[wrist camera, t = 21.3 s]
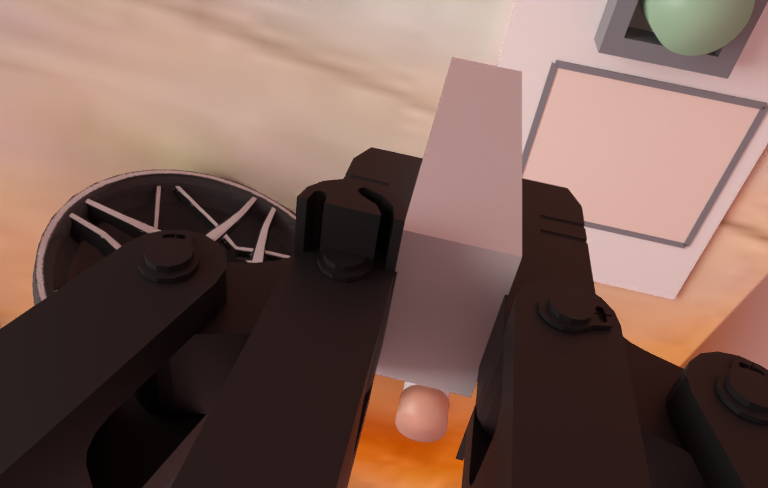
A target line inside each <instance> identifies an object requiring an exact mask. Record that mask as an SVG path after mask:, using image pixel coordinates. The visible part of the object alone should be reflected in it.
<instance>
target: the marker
mask: <svg viewBox="0 0 768 488" xmlns="http://www.w3.org/2000/svg"><path fill="white" fill-rule="evenodd" d="M449 393H450V392H447V391H443V390H439V389H434V388H430V387H426V386H422V385H418V384H414V383H410V382H406V381H405V384H404V389H403V392H402V393H401V396H400V401H399V405H398V410H397V415H396V420H395V423H396V427H397V429H398V430H399V431H400V432H401V433H402V434H403V435H404V436H406V437H407V438H409V439H412V440H415V441H419V442H433V441H436V440H439V439H440V438H442V437H443V436H444V435H445V433H446V430H447V422H448V414H449V405H450V404H449Z"/></svg>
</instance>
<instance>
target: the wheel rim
mask: <svg viewBox="0 0 768 488" xmlns="http://www.w3.org/2000/svg"><path fill="white" fill-rule="evenodd" d="M295 223H296V215H294V214H293V213H292V212H290V211H289V210H287V209H286V208H284V207H283V206H282V205H280V204H279V203H277V202H275V201H273V200H272V199H270V198H268V197H267V196H265V195H263V194H261V193H259V192H257V191H255V190H253V189H251V188H248V187H245V186H243V185H240V184H237V183H235V182H232V181H230V180H227V179H223V178H219V177H216V176H212V175H207V174H202V173H197V172H191V171H181V170H146V171H137V172H131V173H126V174H121V175H117V176H114V177H111V178H108V179H106V180H103V181H100V182H97V183H95V184H93V185H91V186H90V187H88V188H86V189H84V190H83V191H81V192H79V193H78V194H76V195H74V196H73V197H72V198H71V199H70V200H69V201H68V202H67V203H66V204H65V205H64V206H63V207H62V208H61V209H60V210H59V211H58V212H57V213H56V214H55V215H54V216H53V217H52V218H51V220H50V222H49V224H48V226H47V227H46V229H45V231H44V233H43V234H42V237H41V240H40V243H39V246H38V250H37V255H36V260H35V266H34V272H33V296H34V304H35V305H36V304H38V303H39V302H41V301H42V300H44V299H45V298H47V297H48V296H50V295H51V294H53V293H54V292H55V291H57V290H58V289H60V288H61V287H63V286H64V285H66V284H67V283H69V282H70V281H71V280H73V279H74V278H76V277H77V276H79V275H80V274H82V273H83V272H85V271H86V270H88V269H89V268H90V267H92V266H93V265H95V264H96V263H98V262H99V261H101V260H102V259H104V258H105V257H107V256H108V255H109V254H111V253H112V252H114V251H115V250H117V249H118V248H120V247H121V246H123V245H124V244H126V243H127V242H129V241H131V240H133V239H135V238H138V237H140V236H142V235H144V234H147V233H152V232H157V231H162V230H188V231H192V232H196V233H200V234H204V235H206V236H208V237H209V238H211V239H212V240H214V241H216V242H217V243H219V244H220V246H221V248H222V249H223V251H224V253H225V254H226V256H227V262H243V263H258V262H272V261H277V260H281V259H285V258H288V257H291V255H292V253H293V251H294V240H295ZM179 471H180V470H179ZM179 471H178V472H177V473H176V475H175V476H174V477H173V478H172V479H171V481H170V482H169V483H168V484H167V485H166V486H165V488H171V486H172V484H173V482H174V480H175V478H176V476H177V474H178V473H179Z"/></svg>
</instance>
